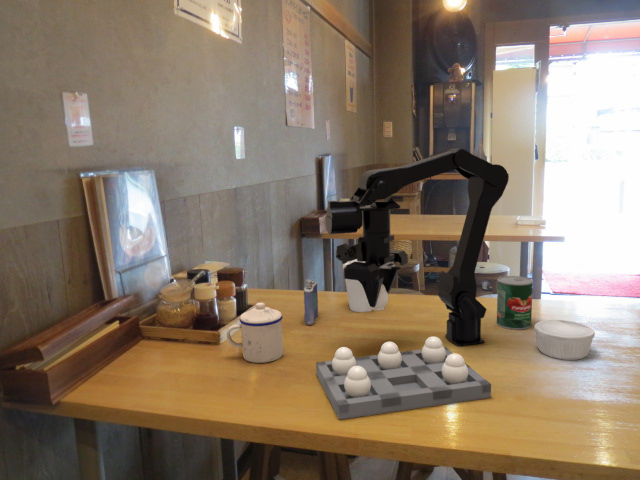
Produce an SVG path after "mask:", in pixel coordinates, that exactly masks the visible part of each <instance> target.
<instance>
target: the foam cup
mask: <svg viewBox="0 0 640 480" xmlns="http://www.w3.org/2000/svg"><path fill="white" fill-rule="evenodd" d="M353 262H358V261H357V259H355V260H352V261H350V262H347V263H345V264H342V270H343V269H344V268H345V267H346V266H347V265H348V264H351V263H353ZM363 262H364V261H363ZM344 280H345V286H346V287H345V288H346V293H347V299H348V306H349V309H350V311H352V312H356V313H367V312H368V313H369V312H371V311H373V310H372V309H371V307H370V305H369V303H368V301H367V297H366V294H365V291H364V289H363V286H362V284H361V283H360V282H359V281H358V280H351V279H344Z"/></svg>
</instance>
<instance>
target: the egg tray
mask: <svg viewBox="0 0 640 480" xmlns="http://www.w3.org/2000/svg"><path fill="white" fill-rule="evenodd" d="M424 341H425V342H424V345H423V346H422V348H421V349H413V350H407V351H400V349H399V347H398V345H397V344H396V343H395V342H393V341H386V342H384V343H383V344H382V345H381V347H380V351H379V352H378V354H375V355H374V354H373V355H365V356H359V357H358V356H357V357H356V356H354V354H353V352H352V349H350V348H348V347H347V346H342V347H339V348H337V350H336V351H335V354H334V357H333V358H332V360H325V361H324V360H323V361H317V362H315V367H316V368H315V370H316V376H317V378H318V381H319V382H320V385H321V386H322V388H323V390H324V393H325V395H326V396H327V398H328V400H329V402H330V404H331V406H332V409H333V411H334V413H335V415H336V416H337V418H338V420H339V421H341V420H346V419H348V420H349V419H354V418H359V417H360V418H361V417H367V416H373V415H380V414H389V413H396V412H401V411H409V410H414V409H423V408H428V407H436V406H441V405H442V406H443V405H448V404H456V403H463V402H468V401H476V400H483V399H490V398H491V397H492V383H491V382H490V381H488V380H487V379H486V378H485V377H483V376H482V375H481V374H479V373H478V372H477V371H476V370H475V369H473V368H472V367H471V366H470V365H468V364H467V363H466V362H465V359H464V357H463V356H462V355H461V354H459V353H454V352H452V351H451V350H450V348H447V347H446V346H444V345H443V342H442V340H441V339H440V338H439V337H438V336H433V335H432V336H429V337H428V338H427V339H426V340H424Z"/></svg>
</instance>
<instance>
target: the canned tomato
mask: <svg viewBox="0 0 640 480" xmlns="http://www.w3.org/2000/svg"><path fill="white" fill-rule="evenodd" d="M533 282H534V281H533V279H531V278H530V277H526V276H525V277H524V276H519V275H506V276H500V277H498V278H497V290H496V291H497V293H496V294H497V295H496V296H497V299H496V302H497V303H496V324H497V326H498V327H501V328H502V329H507V330H516V331H517V330H518V331H519V330H521V331H522V330H527V329H528V330H529V329H530V328H531V327H532V314H533V313H532V310H533V307H532V306H533V284H534V283H533Z"/></svg>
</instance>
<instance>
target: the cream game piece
mask: <svg viewBox="0 0 640 480" xmlns="http://www.w3.org/2000/svg"><path fill="white" fill-rule="evenodd" d="M389 300H390V299H389V294H388V293H387V291H386V289H385V286H384V285H383V284H382V285H381V289H380V293H379V296H378V300H377V303H376V306H375V307H371V309H372V310H371V311H383V310H385V307H386V306H387V304H388V302H389ZM367 301H368V299H367ZM368 303H369V302H368Z"/></svg>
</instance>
